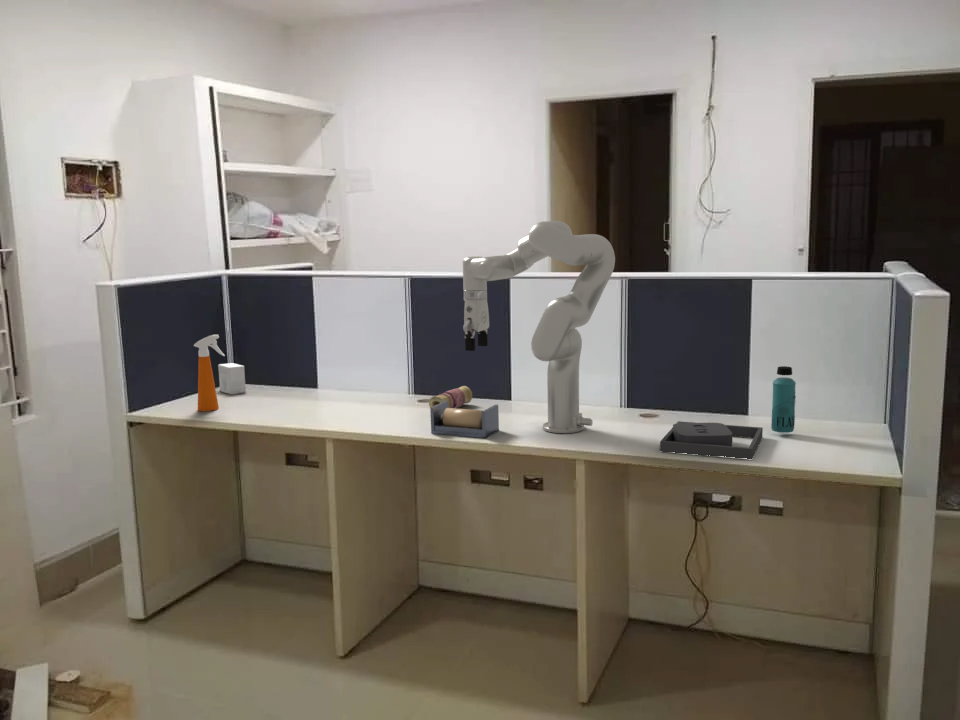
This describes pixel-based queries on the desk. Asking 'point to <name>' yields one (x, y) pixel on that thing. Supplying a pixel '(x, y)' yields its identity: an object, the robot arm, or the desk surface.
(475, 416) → the roll
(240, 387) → the skincare box
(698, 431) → the streaming box
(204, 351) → the spray bottle
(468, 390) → the scroll
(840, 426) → the desk surface
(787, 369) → the beverage bottle
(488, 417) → the holder
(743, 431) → the speaker tray
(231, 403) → the desk surface
